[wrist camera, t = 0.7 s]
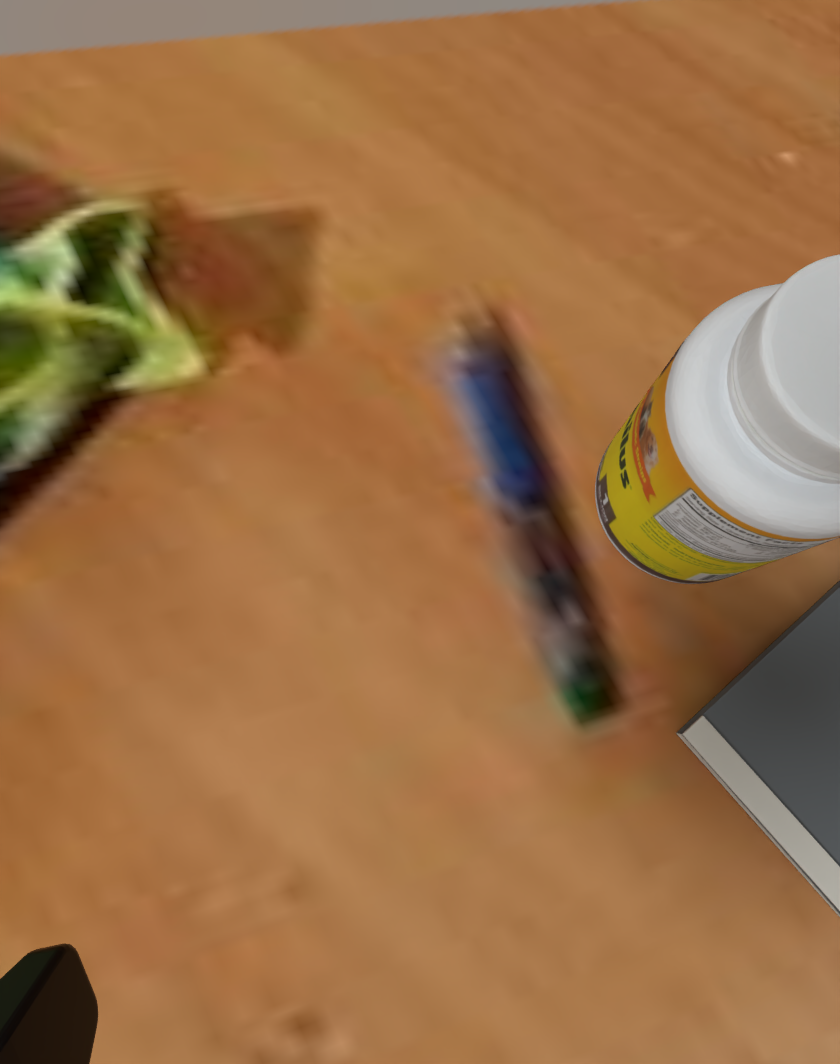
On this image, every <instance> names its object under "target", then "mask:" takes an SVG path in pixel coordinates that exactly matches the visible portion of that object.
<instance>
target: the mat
mask: <svg viewBox="0 0 840 1064" xmlns="http://www.w3.org/2000/svg"><path fill="white" fill-rule="evenodd" d="M676 734H677V735H678V736H679V737H680V738H681V739H682V740H683V742H684V743H685V744H686V745H687V746H688V747H689V748H690V749H691V751H692V752H693V753H694V754H695V755H696V756H697V757H698V758H699V760H700V761H701V762H702V763H703V764H704V765H705V766H706V767H707V769H708V770H709V771H710V772H711V773H712V774H713V775H714V776H715V778H716V779H717V780H718V781H719V782H720V783H721V784H722V785H723V786H724V788H725V789H726V790H727V791H728V792H729V793H730V794H731V795H732V797H733V798H734V799H735V800H736V801H737V802H738V803H739V804H740V806H741V807H742V808H743V809H744V810H745V811H746V812H747V813H748V815H749V816H750V817H751V818H752V819H753V820H754V821H755V822H756V824H757V825H758V826H759V827H760V828H761V829H762V830H763V831H764V833H765V834H766V835H767V836H768V837H769V838H770V839H771V840H772V842H773V843H774V844H775V845H776V846H777V847H778V848H779V849H780V851H781V852H782V853H783V854H784V855H785V856H786V857H787V858H788V859H789V861H790V862H791V863H792V864H793V865H794V866H795V867H796V868H797V870H798V871H799V872H800V873H801V874H802V875H803V876H804V877H805V879H806V880H807V881H808V882H809V883H810V884H811V885H812V886H813V888H814V889H815V890H816V891H817V892H818V893H819V894H820V895H821V897H822V898H823V899H824V900H825V901H826V902H827V903H828V904H829V906H830V907H831V908H832V909H833V910H834V911H835V912H836V913H837V915H838V916H839V917H840V581H839V582H838V583H837V584H836V585H834V586H833V587H832V588H831V589H830V590H829V591H828V592H827V593H826V594H825V595H824V596H823V597H822V598H820V599H819V600H818V601H817V602H816V603H815V604H814V605H813V606H812V607H811V608H810V609H809V610H808V611H807V612H805V613H804V614H803V615H802V616H801V617H800V618H799V619H798V620H797V621H796V622H795V623H794V624H793V625H791V626H790V627H789V628H788V629H787V630H786V631H785V632H784V633H783V634H782V635H781V636H780V637H779V638H778V639H776V640H775V641H774V642H773V643H772V644H771V645H770V646H769V647H768V648H767V649H766V650H765V651H764V652H762V653H761V654H760V655H759V656H758V657H757V658H756V659H755V660H754V661H753V662H752V663H751V664H750V665H749V666H747V667H746V668H745V669H744V670H743V671H742V672H741V673H740V674H739V675H738V676H737V677H736V678H735V679H733V680H732V681H731V682H730V683H729V684H728V685H727V686H726V687H725V688H724V689H723V690H722V691H721V692H719V693H718V694H717V695H716V696H715V697H714V698H713V699H712V700H711V701H710V702H709V703H708V704H707V705H706V706H704V707H703V708H702V709H701V710H700V711H699V712H698V713H697V714H696V715H695V716H694V717H693V718H692V719H690V720H689V721H688V722H687V723H686V724H685V725H684V726H683V727H682V728H681V729H680V730H679V731H678V732H677V733H676Z"/></svg>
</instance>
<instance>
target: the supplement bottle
mask: <svg viewBox="0 0 840 1064" xmlns="http://www.w3.org/2000/svg"><path fill="white" fill-rule="evenodd" d="M595 498H596V507H597V511H598V515H599V519H600V522H601V524H602V527H603V529H604V531H605V533H606V535H607V536H608V538H609V539H610V541H611V542H612V544H613V545H614V546H615V548H616V549H617V550H618V551H619V552H620V553H621V554H622V555H623V556H624V557H625V558H626V559H627V560H628V561H629V562H630V563H632V564H633V565H635V566H636V567H637V568H639V569H641V570H642V571H644V572H646V573H648V574H650V575H652V576H654V577H657V578H660V579H663V580H667V581H671V582H676V583H683V584H700V583H708V582H713V581H718V580H721V579H724V578H728V577H730V576H733V575H736V574H739V573H741V572H744V571H747V570H750V569H753V568H756V567H759V566H762V565H765V564H767V563H770V562H773V561H776V560H779V559H781V558H784V557H787V556H789V555H792V554H795V553H798V552H800V551H803V550H806V549H809V548H811V547H814V546H817V545H820V544H822V543H825V542H828V541H831V540H833V539H836V538H839V537H840V255H835V256H831V257H826V258H824V259H821V260H818V261H816V262H814V263H812V264H810V265H808V266H806V267H804V268H802V269H801V270H799V271H798V272H796V273H795V274H794V275H792V276H791V277H790V278H789V279H788V280H787V281H786V282H784V283H782V284H776V285H770V286H765V287H761V288H757V289H753V290H751V291H748V292H745V293H743V294H741V295H739V296H736V297H734V298H732V299H731V300H729V301H727V302H725V303H723V304H722V305H721V306H719V307H718V308H716V309H715V310H714V311H712V312H711V313H710V314H709V315H708V316H706V317H705V318H704V319H703V320H702V321H701V322H700V323H699V324H698V326H697V327H696V328H695V329H694V330H693V331H692V333H691V334H690V335H689V336H688V337H687V338H686V339H685V341H684V342H683V343H682V344H681V346H680V347H679V349H678V350H677V352H676V353H675V355H674V356H673V357H672V359H671V360H670V362H669V363H668V364H667V366H666V367H665V368H664V370H663V371H662V372H661V374H660V375H659V377H658V378H657V379H656V381H655V382H654V383H653V385H652V386H651V387H650V389H649V390H648V391H647V393H646V395H645V396H644V397H643V399H642V400H641V401H640V403H639V404H638V405H637V407H636V408H635V410H634V411H633V412H632V414H631V415H630V416H629V418H628V419H627V421H626V422H625V423H624V425H623V426H622V428H621V429H620V430H619V431H618V433H617V434H616V436H615V437H614V439H613V440H612V441H611V443H610V444H609V446H608V448H607V450H606V451H605V453H604V455H603V457H602V460H601V462H600V465H599V468H598V472H597V477H596V484H595Z"/></svg>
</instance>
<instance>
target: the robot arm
mask: <svg viewBox="0 0 840 1064" xmlns="http://www.w3.org/2000/svg"><path fill="white" fill-rule="evenodd" d="M97 1022H98V1005H97V1000H96V996H95V994H94V991H93V989H92V986H91V984H90V981H89V979H88V977H87V974H86V972H85V969H84V967H83V964H82V962H81V959H80V957H79V954H78V952H77V951H76V949H75V948H74V947H73V946H72V945H70V944H59V945H55V946H50V947H45V948H40V949H36V950H34V951H31V952H30V953H28V954H27V955H26V956H24V957H23V958H22V959H21V960H20V961H19V962H18V963H17V964H16V965H15V966H14V967H13V968H12V969H10V970H9V971H8V972H7V973H6V974H5V975H4V976H3V977H2V978H1V979H0V1064H89V1063H90V1058H91V1053H92V1048H93V1043H94V1038H95V1033H96V1028H97Z"/></svg>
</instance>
